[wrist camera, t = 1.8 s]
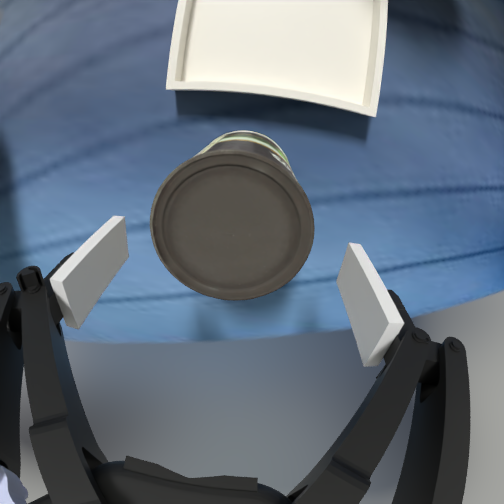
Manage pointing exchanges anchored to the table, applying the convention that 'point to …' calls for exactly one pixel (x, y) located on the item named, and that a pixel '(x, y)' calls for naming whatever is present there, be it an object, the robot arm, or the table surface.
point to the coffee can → (233, 219)
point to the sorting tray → (282, 50)
